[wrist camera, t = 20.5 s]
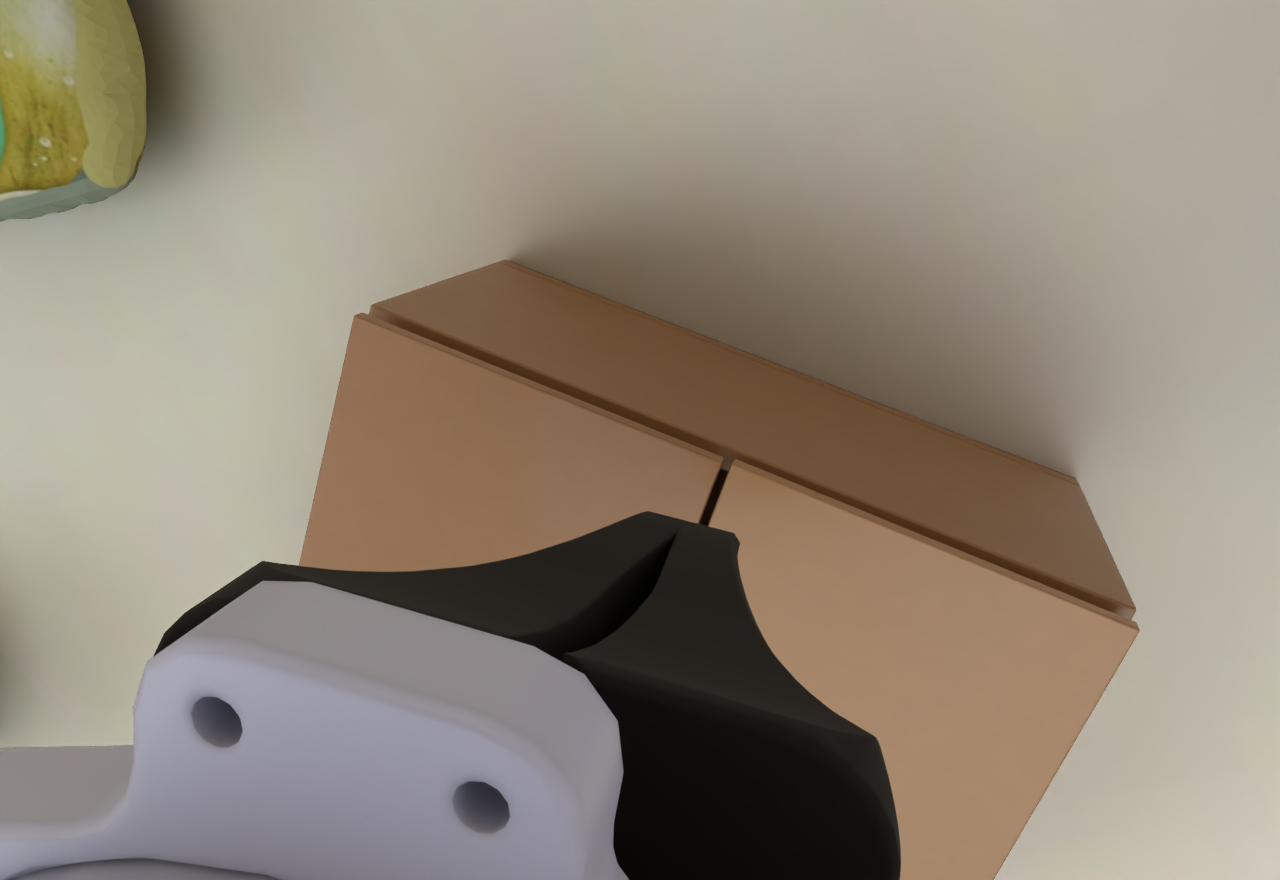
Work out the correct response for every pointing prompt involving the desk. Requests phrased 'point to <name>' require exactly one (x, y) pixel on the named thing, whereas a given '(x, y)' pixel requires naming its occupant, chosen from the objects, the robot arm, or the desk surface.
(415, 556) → the carton
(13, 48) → the cell model
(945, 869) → the flap
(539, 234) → the desk surface
